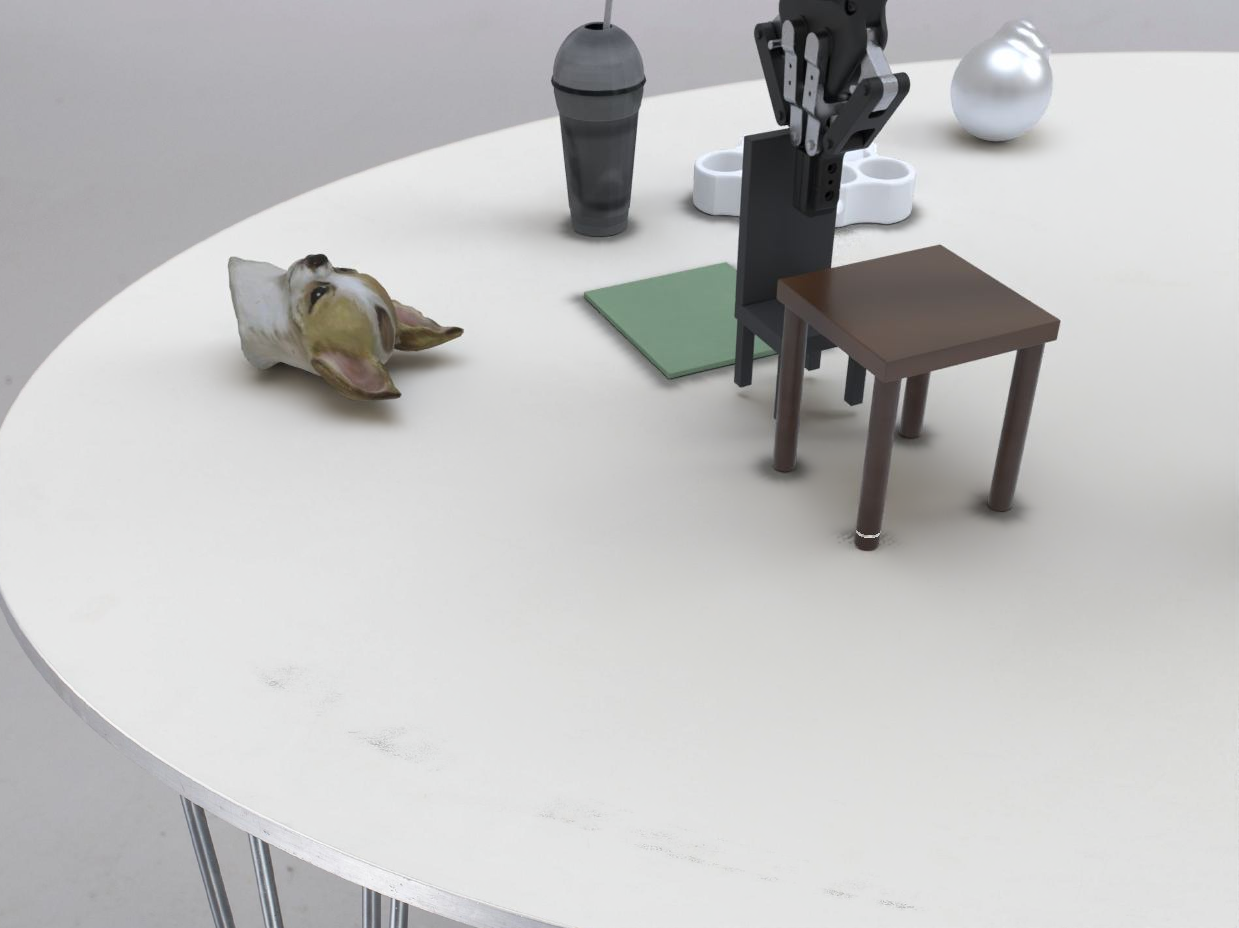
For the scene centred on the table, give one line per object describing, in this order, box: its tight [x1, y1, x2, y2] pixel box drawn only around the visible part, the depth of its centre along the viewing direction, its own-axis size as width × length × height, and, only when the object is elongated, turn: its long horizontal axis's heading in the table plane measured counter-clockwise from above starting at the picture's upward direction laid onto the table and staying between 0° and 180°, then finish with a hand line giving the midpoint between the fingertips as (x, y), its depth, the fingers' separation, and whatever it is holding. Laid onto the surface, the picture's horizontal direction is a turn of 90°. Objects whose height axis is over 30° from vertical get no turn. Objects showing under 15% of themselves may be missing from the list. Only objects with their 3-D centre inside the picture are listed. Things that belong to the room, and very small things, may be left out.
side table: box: [772, 243, 1061, 551], centre depth 83 cm, size 11×11×12 cm
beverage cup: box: [550, 0, 647, 237], centre depth 111 cm, size 7×7×20 cm
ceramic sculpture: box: [227, 253, 465, 402], centre depth 96 cm, size 11×9×15 cm
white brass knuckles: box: [692, 133, 917, 228], centre depth 120 cm, size 3×18×15 cm
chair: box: [733, 127, 868, 421], centre depth 89 cm, size 6×6×16 cm
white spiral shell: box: [949, 18, 1054, 142], centre depth 128 cm, size 9×10×10 cm
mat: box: [583, 261, 778, 380], centre depth 104 cm, size 14×12×1 cm
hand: (813, 210), depth 85 cm, fingers closed
